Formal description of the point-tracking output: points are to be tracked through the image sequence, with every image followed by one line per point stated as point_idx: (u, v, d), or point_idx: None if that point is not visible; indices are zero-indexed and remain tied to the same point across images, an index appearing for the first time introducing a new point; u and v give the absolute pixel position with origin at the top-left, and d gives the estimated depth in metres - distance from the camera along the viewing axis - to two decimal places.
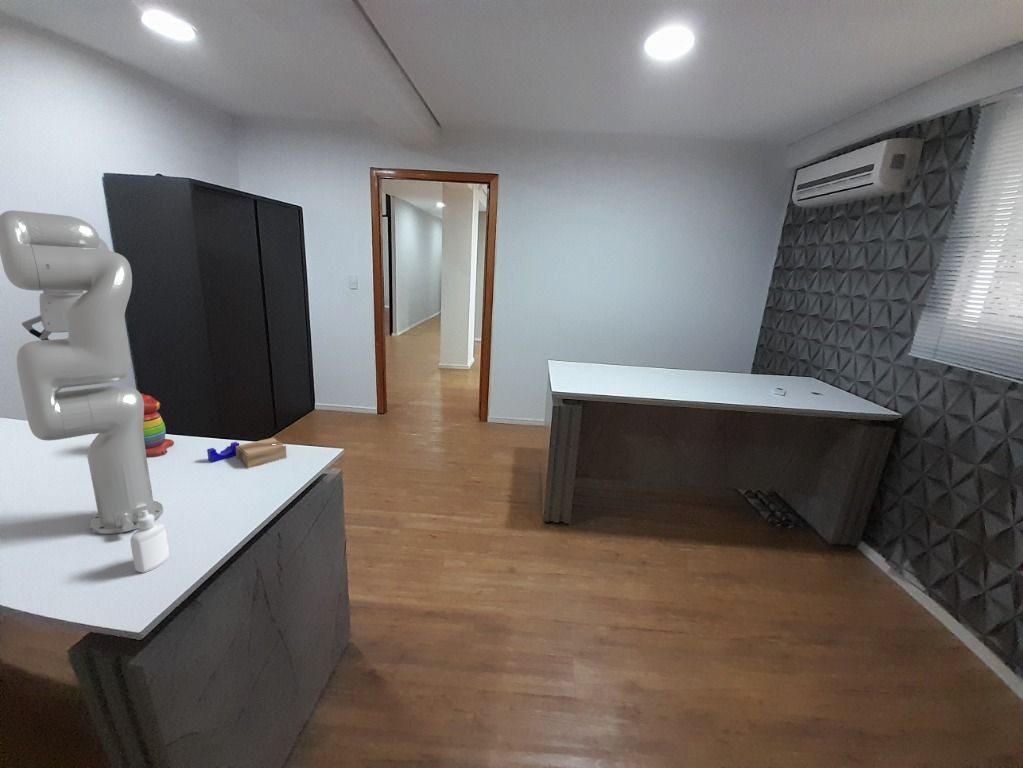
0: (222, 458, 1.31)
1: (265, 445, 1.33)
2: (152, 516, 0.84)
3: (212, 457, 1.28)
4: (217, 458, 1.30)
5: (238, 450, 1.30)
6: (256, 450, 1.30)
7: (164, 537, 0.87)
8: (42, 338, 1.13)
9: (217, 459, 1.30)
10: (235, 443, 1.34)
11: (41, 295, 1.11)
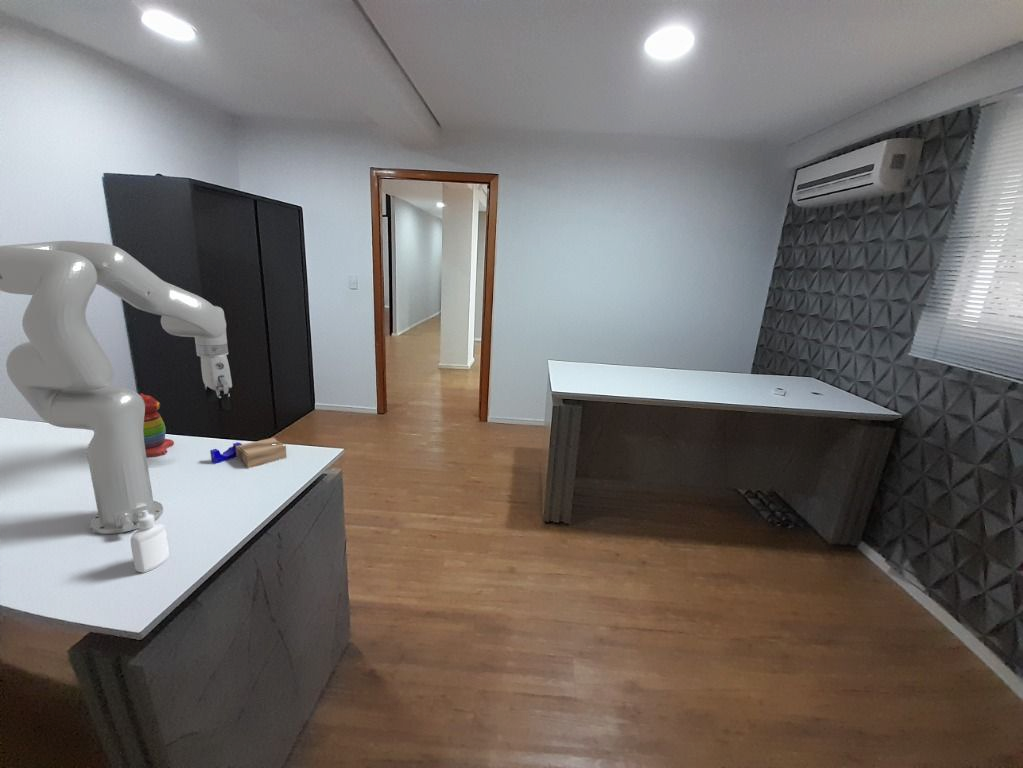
0: (225, 459, 1.31)
1: (265, 445, 1.33)
2: (152, 516, 0.84)
3: (216, 458, 1.28)
4: (220, 459, 1.29)
5: (238, 450, 1.30)
6: (256, 450, 1.30)
7: (164, 537, 0.87)
8: None
9: (220, 460, 1.29)
10: (238, 444, 1.34)
11: (224, 357, 1.23)
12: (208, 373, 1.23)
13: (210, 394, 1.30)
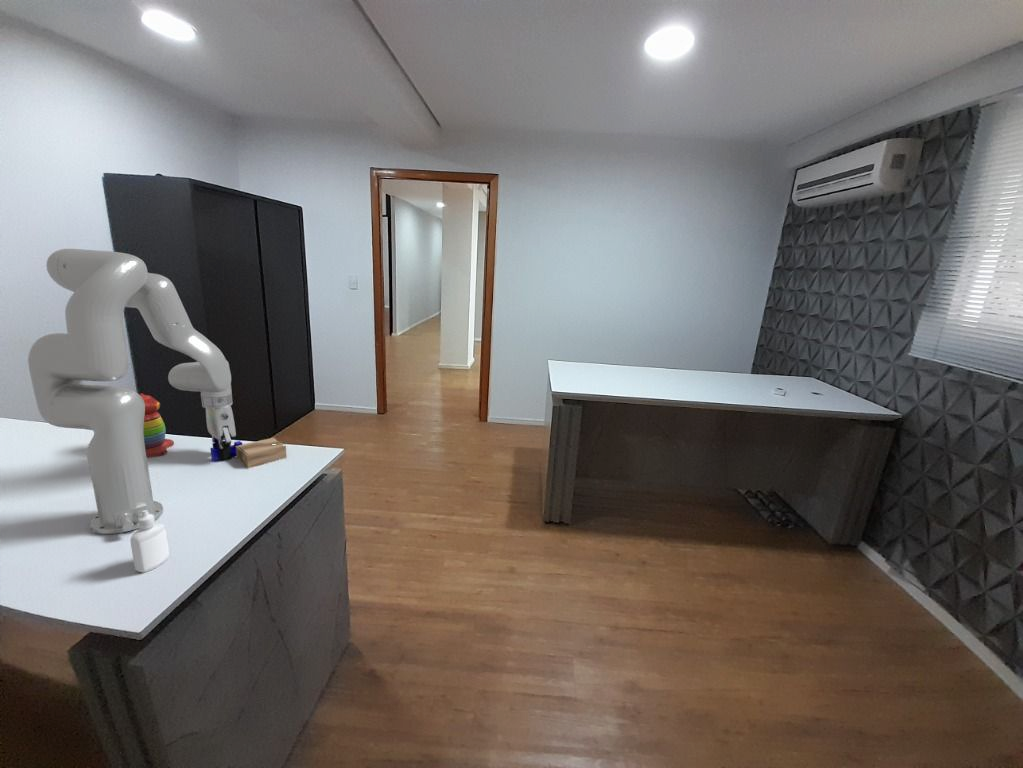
0: None
1: (265, 445, 1.33)
2: (152, 516, 0.84)
3: (215, 456, 1.29)
4: None
5: (238, 450, 1.30)
6: (256, 450, 1.30)
7: (164, 537, 0.87)
8: (230, 446, 1.30)
9: None
10: (238, 442, 1.34)
11: (229, 408, 1.27)
12: (213, 423, 1.26)
13: (217, 447, 1.33)
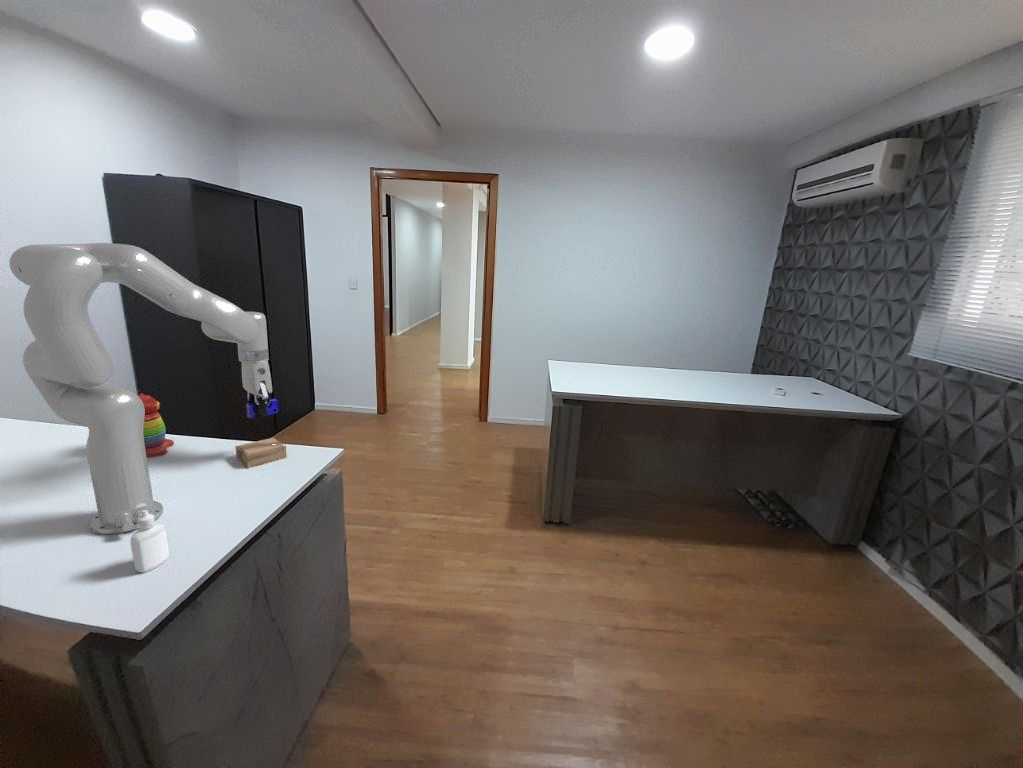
0: None
1: (265, 445, 1.33)
2: (152, 516, 0.84)
3: (251, 412, 1.27)
4: None
5: (238, 450, 1.30)
6: (256, 450, 1.30)
7: (164, 537, 0.87)
8: None
9: None
10: (273, 400, 1.32)
11: (266, 362, 1.25)
12: (250, 378, 1.24)
13: None
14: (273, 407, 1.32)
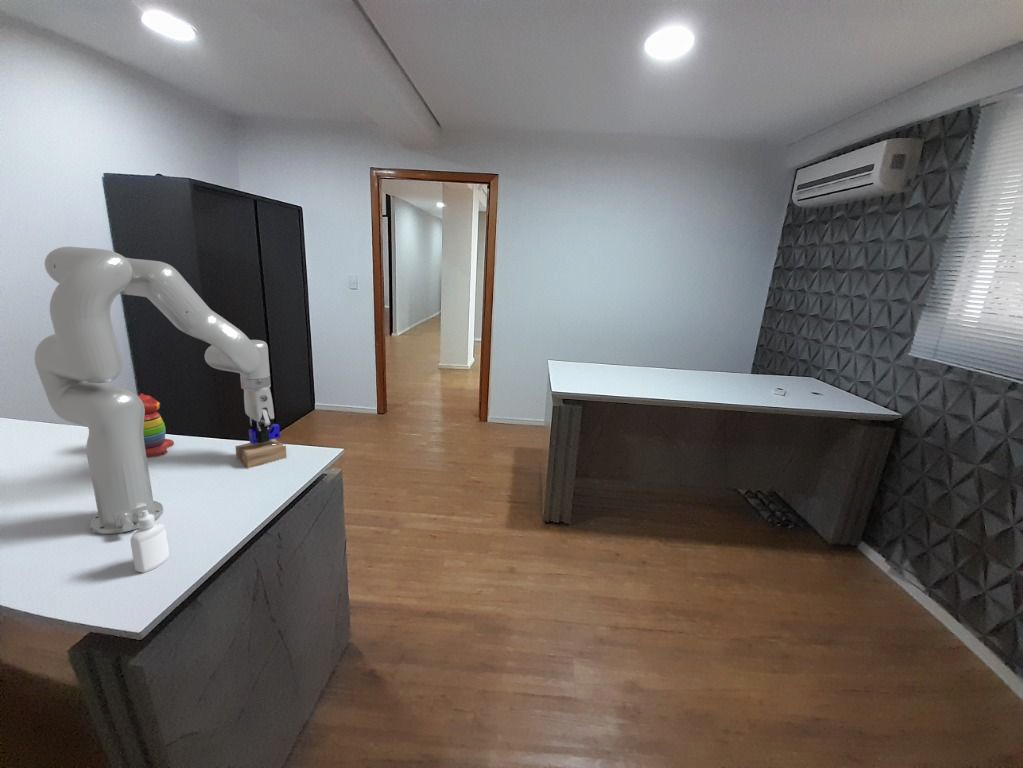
0: None
1: (265, 445, 1.33)
2: (152, 516, 0.84)
3: (253, 438, 1.29)
4: None
5: (238, 450, 1.30)
6: (256, 450, 1.30)
7: (164, 537, 0.87)
8: None
9: None
10: (275, 425, 1.34)
11: (268, 390, 1.27)
12: (252, 405, 1.26)
13: None
14: (275, 432, 1.34)
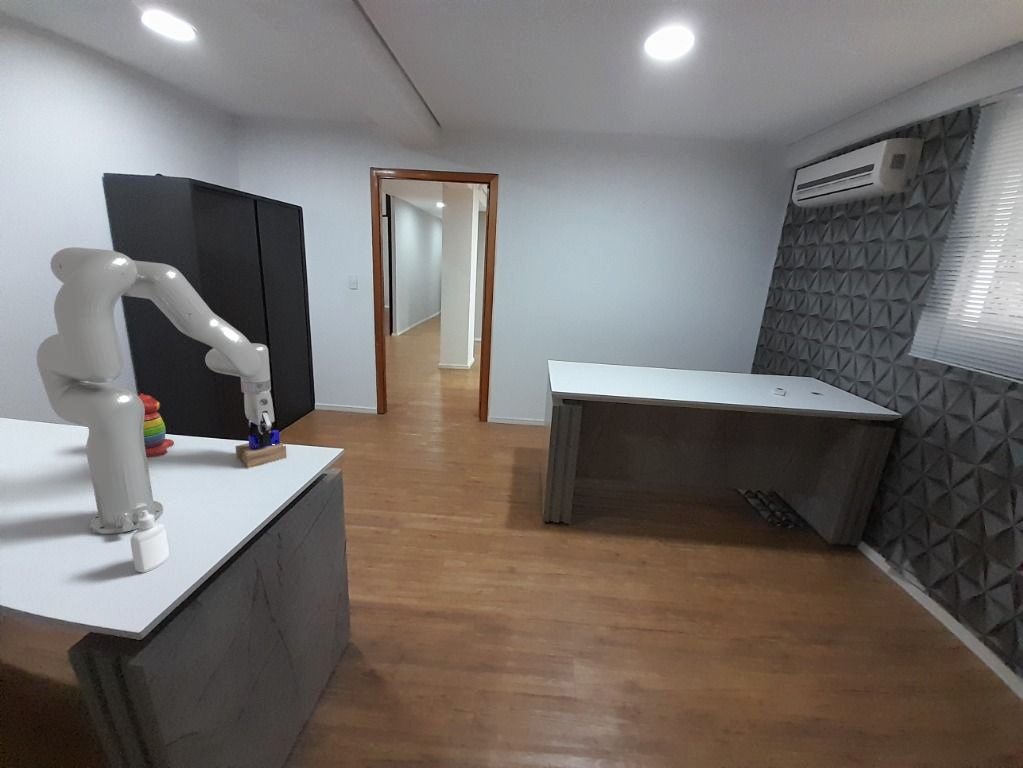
0: None
1: None
2: (152, 516, 0.84)
3: (252, 444, 1.29)
4: (257, 445, 1.30)
5: (238, 450, 1.30)
6: (256, 450, 1.30)
7: (164, 537, 0.87)
8: None
9: (257, 446, 1.30)
10: (275, 431, 1.34)
11: (268, 393, 1.27)
12: (252, 409, 1.26)
13: (254, 432, 1.33)
14: (275, 438, 1.34)
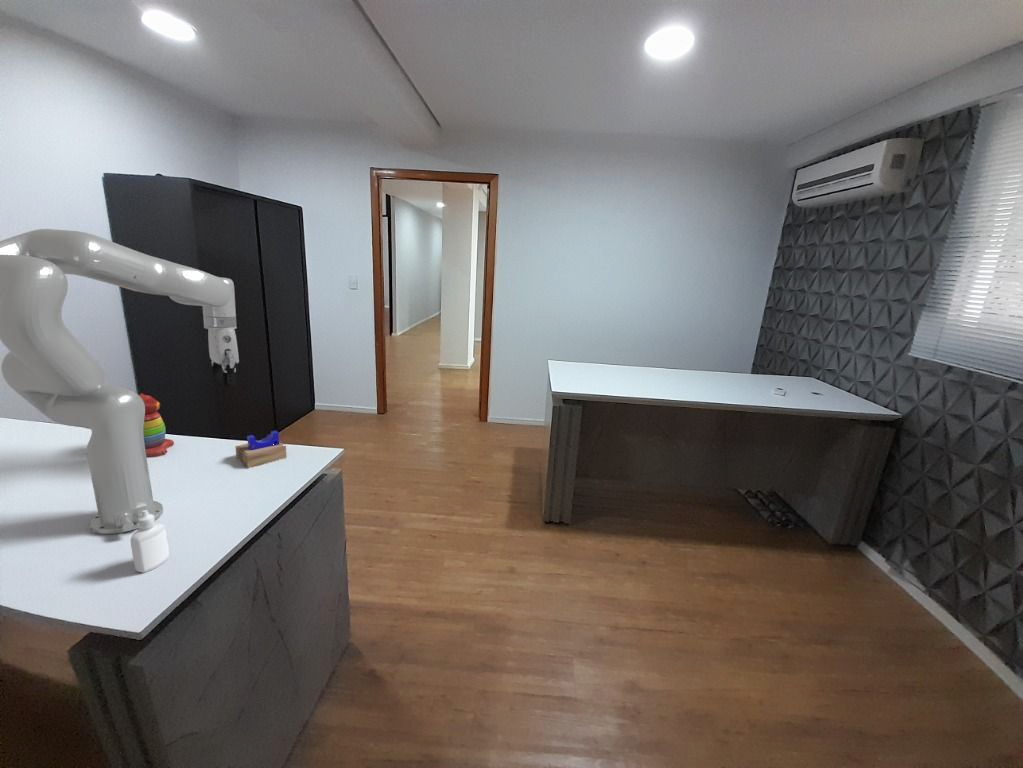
0: (261, 446, 1.31)
1: None
2: (152, 516, 0.84)
3: (251, 444, 1.29)
4: (256, 446, 1.30)
5: (238, 450, 1.30)
6: (256, 450, 1.30)
7: (164, 537, 0.87)
8: None
9: (256, 447, 1.30)
10: (275, 432, 1.33)
11: (232, 330, 1.19)
12: (215, 346, 1.18)
13: (216, 371, 1.26)
14: (274, 439, 1.33)
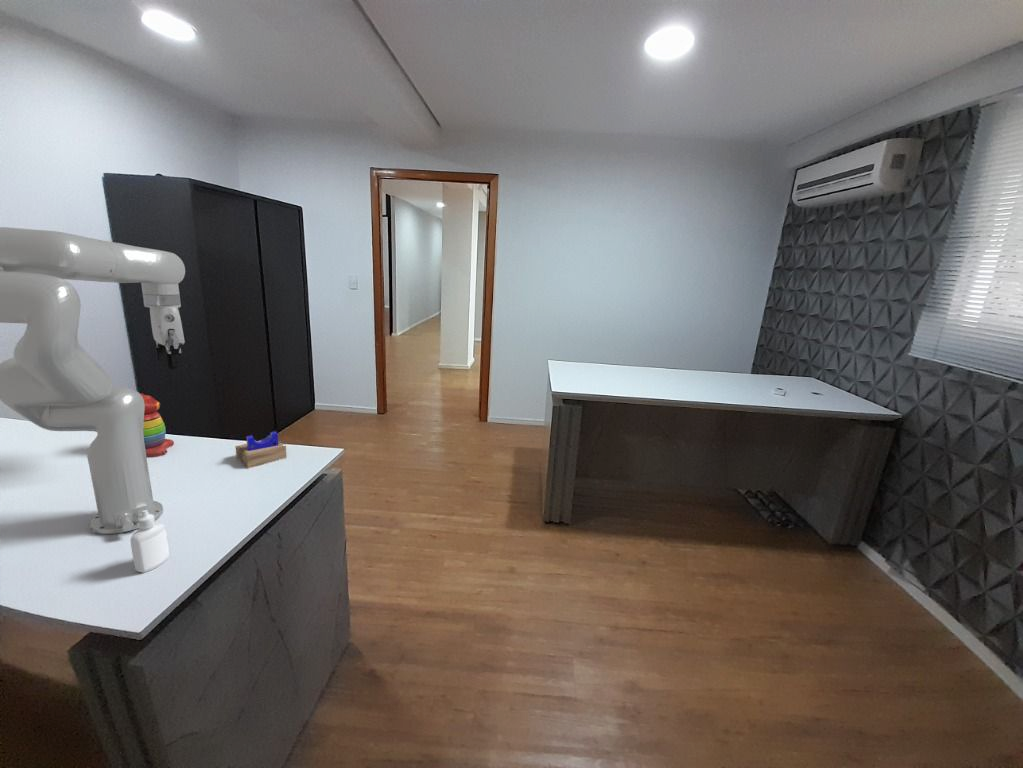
0: (260, 447, 1.30)
1: None
2: (152, 516, 0.84)
3: (249, 445, 1.28)
4: (255, 446, 1.29)
5: (238, 450, 1.30)
6: (256, 450, 1.30)
7: (164, 537, 0.87)
8: (180, 352, 1.14)
9: (254, 447, 1.30)
10: (274, 433, 1.33)
11: (175, 309, 1.12)
12: (157, 326, 1.11)
13: (162, 352, 1.19)
14: (273, 440, 1.33)
